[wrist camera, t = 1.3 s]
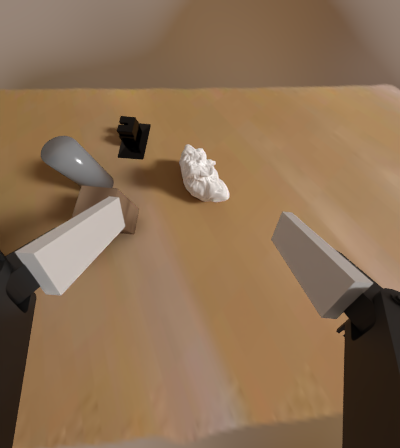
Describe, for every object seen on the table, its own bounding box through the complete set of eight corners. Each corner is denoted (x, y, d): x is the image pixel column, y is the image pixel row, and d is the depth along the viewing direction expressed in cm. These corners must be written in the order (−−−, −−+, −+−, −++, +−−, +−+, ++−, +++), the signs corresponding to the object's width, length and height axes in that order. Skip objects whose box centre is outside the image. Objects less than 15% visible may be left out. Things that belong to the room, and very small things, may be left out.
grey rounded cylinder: (84, 194, 28) (35, 164, 20) (91, 171, 30) (47, 134, 21) (110, 196, 28) (72, 167, 20) (116, 173, 30) (82, 137, 21)
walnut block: (106, 231, 27) (70, 219, 19) (113, 206, 28) (81, 185, 20) (134, 234, 27) (109, 223, 19) (139, 208, 28) (117, 188, 20)
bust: (183, 174, 33) (143, 165, 23) (204, 144, 29) (169, 118, 19) (218, 213, 31) (192, 222, 21) (246, 185, 27) (230, 181, 17)
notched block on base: (125, 119, 34) (115, 97, 29) (156, 121, 34) (151, 101, 29) (113, 165, 31) (99, 149, 26) (147, 168, 31) (139, 153, 26)
